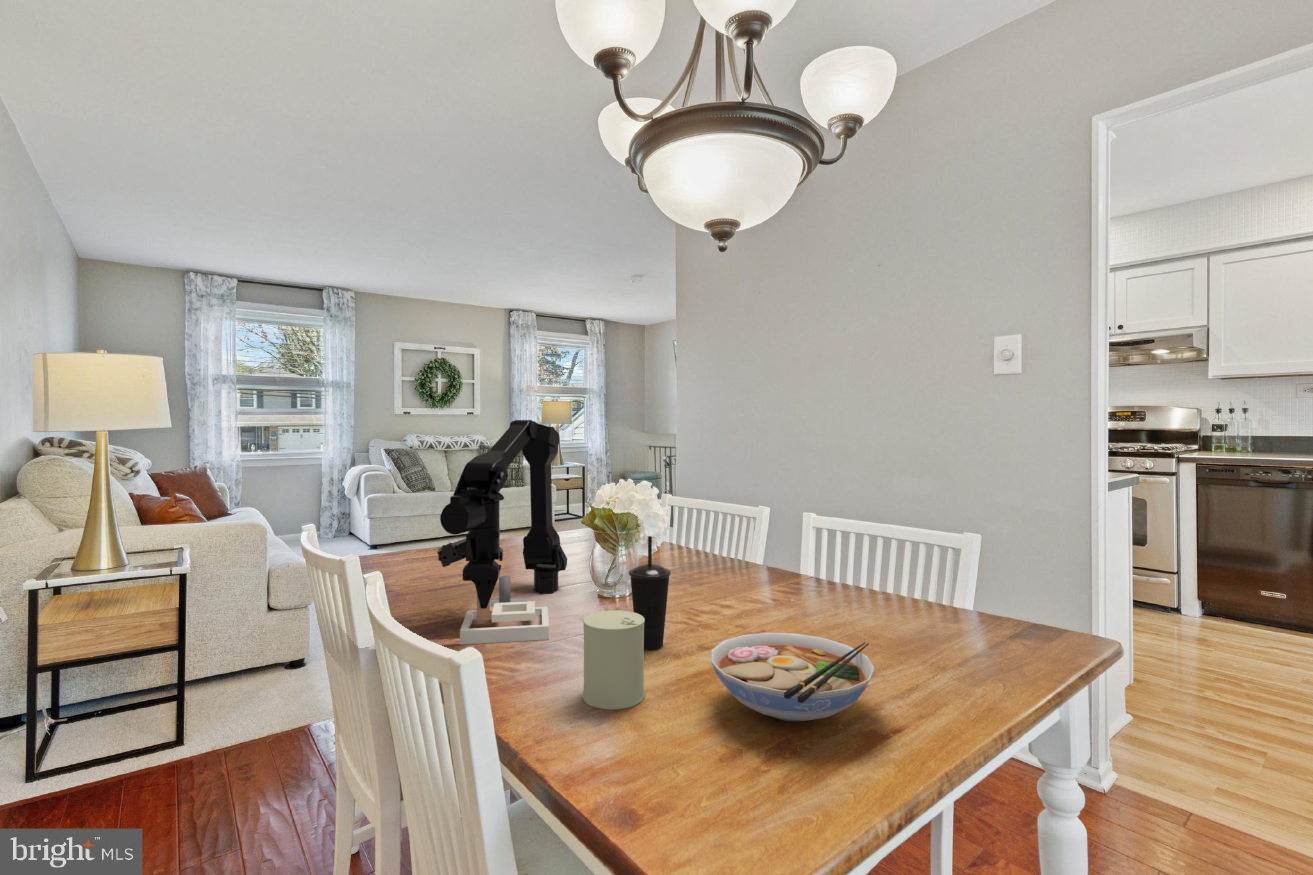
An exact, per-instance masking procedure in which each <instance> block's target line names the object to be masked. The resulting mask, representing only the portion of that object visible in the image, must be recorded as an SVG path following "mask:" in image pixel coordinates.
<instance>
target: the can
mask: <svg viewBox="0 0 1313 875" xmlns="http://www.w3.org/2000/svg"><path fill="white" fill-rule="evenodd" d="M644 622H645V619H644V617H643V616H642V615H640V614H637V613H634V611H629V610H628V611H627V610H620V609H619V610H602V611H597V612H593V613H590V614H588V615H586V616H585V617H584V618H583V619H582V624H583V691H582V692H583V693H582V700H583V702H584V703H585V704H587V705H588V706H590V707H593V708H595V709H599V710H600V709H601V710H606V711H607V710H609V711H610V710H611V711H612V710H614V711H616V710H618V711H619V710H624V709H628V708H632V707H635V706H637V705H638V704H640V703H642V702H643V700H644V699H645V696H646V695H645V694H646V693H645V689H644V688H645V685H644V684H645V683H644V682H645V680H644V664H645V663H644V662H645V661H644V660H645V658H644V653H645V652H644V651H645V650H644Z"/></svg>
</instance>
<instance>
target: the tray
mask: <svg viewBox="0 0 1313 875" xmlns="http://www.w3.org/2000/svg"><path fill="white" fill-rule="evenodd" d="M548 610H549V608H548V606H535V616H541V624H531V625H530V624H529V625H513V626H512V625H511V626H495V627H494V626H493V627H492V626H491V627H477V628H476V627H473V628H472V627H471V626H472V623H473V620H474V619H476V611H477V609H472V610H471V609H470V610H467V611H466V613H465V616H464V620H463V622H462V624H461V627H460V629H459V645H460V646H461V645H479V644H494V643H496V644H498V643H512V642H515V643H516V642H530V641H546V640H550V627H549V626H550V625H549V624H550V622H549V611H548ZM512 612H513V611H512Z"/></svg>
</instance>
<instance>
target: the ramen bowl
mask: <svg viewBox="0 0 1313 875" xmlns="http://www.w3.org/2000/svg"><path fill="white" fill-rule="evenodd" d="M869 644H870V643H869V642H868V643H866V641H865V642H863V643H861V644H860V645H858V646H857V647H855V648H854V647H852V646H850V645H847V644H845V643H841V642H839V641H835V640H832V639H829V638H826V637H821V636H814V635H807V634H801V633H793V632H792V633H790V632H789V633H787V632H770V631H769V632H760V633H759V632H758V633H750V634H742V635H738V636H736V637H732V638H728V639H724V640H722V641H720V643H718V644H717V645H715V646H714V648H712V649H711V651H710V664H711V665H712V669H713V671H714V673H715V674H716V675H717V677H718V679H719V680H720V682H721V684H722V685H723V686H724V687H725V688H726V689H727V690H728V691H729V693H730V694H731V695H732V696H734V698H735V699H736V700H737V701H738V702H740V703H741V704H742V705H744V706H746V707H747V708H749V709H752V710H754V711H755V712H758V713H760V714H762V715H764V716H768V717H772V718H774V719H777V720H781V721H784V722H785V721H786V722H806V721H812V720H819V719H826V718H829V717H831V716H833V715H836V714H838V713H840V712H842V711H844V710H846V709H848V708H850V707H851V706H852V705H853V704H855V702H857V701H858V699H859V698H860V697H861V695H863V692H865V690H866V688H867V687H868V685H869V682H870V681H871V679H872V676H873V674H874V672H875V670H876V667H875V666H874V664H873V662H872V661H871V659H870V657H869V656H867V655H866V654H864V653H863V652H862V651H864V649H865V648H866V647H867V646H869Z"/></svg>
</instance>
